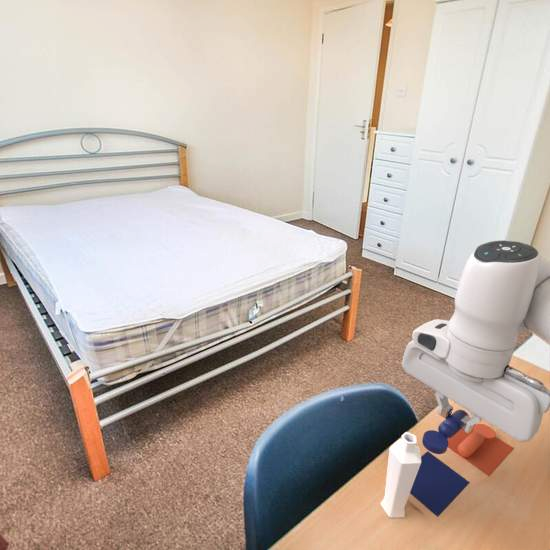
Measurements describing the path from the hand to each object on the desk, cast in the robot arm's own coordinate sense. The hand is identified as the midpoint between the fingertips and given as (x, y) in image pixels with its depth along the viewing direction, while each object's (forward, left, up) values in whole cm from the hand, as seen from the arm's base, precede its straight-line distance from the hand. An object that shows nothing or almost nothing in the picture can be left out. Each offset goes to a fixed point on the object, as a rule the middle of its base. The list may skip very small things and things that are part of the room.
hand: (454, 421), depth 61 cm
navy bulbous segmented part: (+2, +1, -2) cm, 3 cm away
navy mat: (+2, +1, -13) cm, 13 cm away
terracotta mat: (-10, -6, -13) cm, 17 cm away
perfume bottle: (+10, +5, -13) cm, 17 cm away
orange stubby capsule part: (-10, -6, -12) cm, 17 cm away
